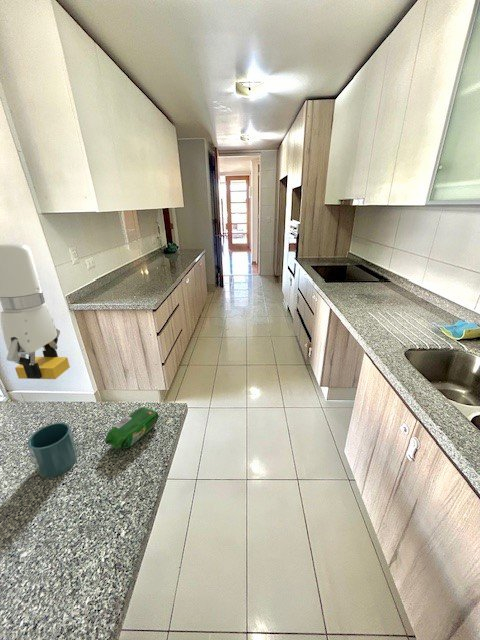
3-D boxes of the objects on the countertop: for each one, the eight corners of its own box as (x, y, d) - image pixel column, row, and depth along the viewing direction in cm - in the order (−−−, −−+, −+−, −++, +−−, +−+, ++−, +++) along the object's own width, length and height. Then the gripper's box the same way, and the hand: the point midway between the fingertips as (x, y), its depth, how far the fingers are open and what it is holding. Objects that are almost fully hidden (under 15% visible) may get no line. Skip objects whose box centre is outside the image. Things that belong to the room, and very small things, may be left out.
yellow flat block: (18, 378, 62) (14, 367, 61) (35, 366, 67) (32, 356, 66) (55, 379, 62) (52, 368, 61) (70, 367, 67) (67, 357, 66)
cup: (29, 477, 61) (18, 448, 57) (54, 448, 68) (45, 421, 65) (63, 479, 60) (54, 450, 57) (84, 450, 68) (77, 423, 65)
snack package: (101, 450, 68) (97, 434, 66) (146, 413, 81) (144, 400, 79) (119, 461, 65) (116, 445, 63) (163, 421, 78) (162, 407, 76)
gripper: (36, 291, 66) (53, 354, 72) (-32, 313, 50) (-2, 391, 56) (65, 291, 66) (80, 354, 72) (6, 314, 50) (32, 392, 56)
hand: (44, 370), depth 64 cm, fingers closed on yellow flat block, 5 cm apart
